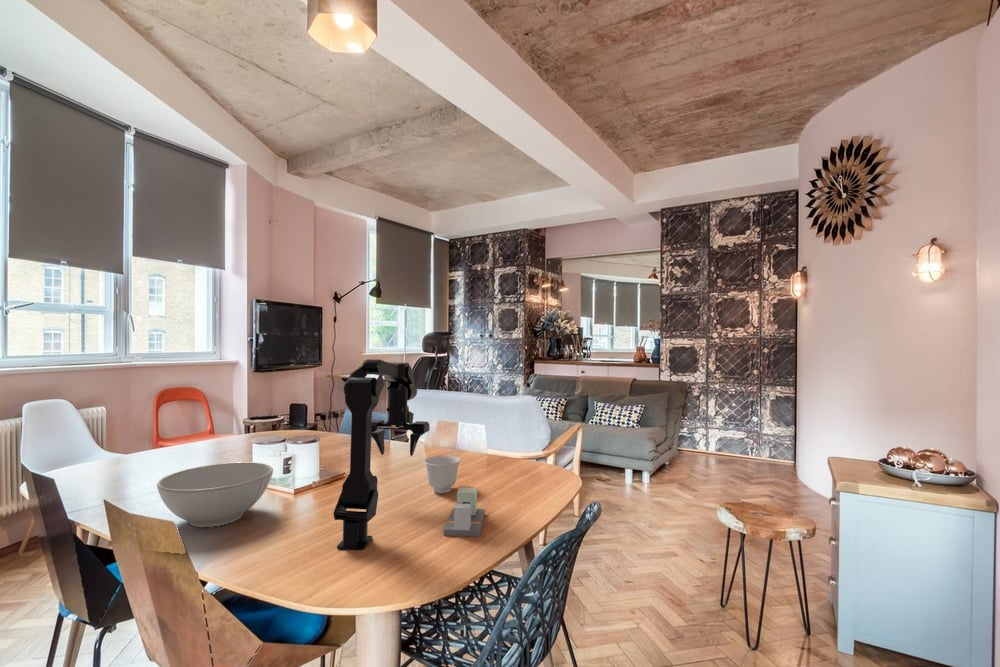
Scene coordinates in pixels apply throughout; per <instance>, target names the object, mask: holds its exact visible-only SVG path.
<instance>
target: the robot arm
mask: <svg viewBox="0 0 1000 667" xmlns="http://www.w3.org/2000/svg"><path fill="white" fill-rule="evenodd" d="M410 365H411V364H410V363H409V362H389V361H384V360H382V359H379V358H378V359H375V358H374V359H373V358H371V359H369V358H368V359H364V361H363V362H362V364H361V365H360V366H359V367H358V368H356V369H355V370H353V371H352V372H351V373H349V376H348V377H347V379H346V381H345V383H344V385H343V393H344V403H345V405H346V406H347V408H348V410H349V412H350V413H351V425H350V427H351V428H350V454H349V455H350V457H349V459H350V462H349V474H348V476H347V477H346V479H345V480H344V482H343V483H342V485H341V486H342V487H341V492H340V495H339V497H338V501H337V502H336V505H335V508H334V510H333V518H334V521H338V520H339V521H342V540H341V541H340V542H339V543H338V544H337V545H336V549H337V550H338V549H341V550H342V549H344V550H364V549H365V548H366V547H367V546H368V544H369V543H370V542H371V541H372V539H373V535H368V533H369V532H368V530H369V529H368V527H369V522H370V520H372V519H373V518H374V517H375V516H376V515H377V507H378V501H379V492H378V477H377V476H376V475H373V473H372V471H371V460H372V459H371V458H372V457H371V456H372V455H371V454H372V438H373V439H374V441H375V444H376V445H377V448H378V450H379V453H380V455H381V456H383V455H385V433H386V430H394V431H395V430H398V431H401V430H402V431H411V433H410V435H409V455H410V456H411V457H413V455H414V452H415V451H416V450H415V449H416V448H417V444H418V442H419V440H420V438H421V436H423V435H425V433H428V432H429V431H430V429H431V428H430V423H429V421H424V420H423V421H419V420H418V421H415V422H414V416H415V415H414V414H415V413H413V412H412V411H411V410H410V409H409V408H410V407H409V405H408V401H411V400H414V398H416V396H417V395H418V388H417V386H416V385H415V383H416V380H415V377H414V372H413V368H412V366H410ZM368 375H375V376H378V377H377V378H376V377H367V376H368ZM385 380H386V381H387V382H388V383H389V384H388V385H387V388H386V390H387V391H388V393H387V394H388V395H387V398H388V399H387V407H386V412H387V421H386V422H385V420H383V419H372V418H373V417H372V415H373V411H374V410H375V408H376V407H377V405H378V404H379V401H380V396H381V393H382V391H383V390H384V387H385ZM347 509H348V510H347ZM350 509H352V510H350ZM358 510H365V511H358Z"/></svg>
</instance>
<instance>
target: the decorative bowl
mask: <svg viewBox="0 0 1000 667" xmlns="http://www.w3.org/2000/svg"><path fill="white" fill-rule="evenodd" d="M273 474H274V468H273V467H272V466H271V465H269V464H267V463H263V462H253V461H234V462H223V463H216V464H215V463H214V464H213V463H212V464H207V465H202V466H195V467H192V468H187V469H183V470H179V471H177V472H173V473H171V474H168V475H166V476H164V477H162V478H160V479H159V480H158V481H157V483H156V488H157V491H158V494H159V496H160V498H161V500H162V502H163V504H164V505H165V506H166V507H167V509H168V510H169V511H170V512H171V513H172V514H174V515H175V516H177V517H178V518H180V519H181V520H184V521H187V522H189V524H191V525H192V526H191V525H190V526H191V527H193V526H196V527H195V528H197V527H210V528H214V527H213V526H217V527H221V526H220V525H222V526H225V525H224V524H226V525H229V524H228V523H230V524H232V523H235V522H237V521H239V520H240V519H241V517H242V516H244V514H245V512H246V511H248V510H250V509H251V508H252V507H254V505H255V504H256V503H257V502H258V501H259V500H260V499H261V497H262V496H263V495H264V493H265V491H266V490H267V488H268V487H269V484H270V482H271V479H272V476H273ZM242 518H243V517H242ZM238 519H239V520H238ZM236 520H237V521H236ZM234 521H235V522H234ZM231 522H232V523H231Z"/></svg>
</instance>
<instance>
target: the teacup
mask: <svg viewBox="0 0 1000 667" xmlns="http://www.w3.org/2000/svg"><path fill="white" fill-rule="evenodd" d="M461 461H462V460H461V458H459V457H457V456H455V455H453V454H449V455H435V456H430V457H427V458H426V459H424V461H423V462H424V464H425V465H426V466H425V467H426V473H427V480H428V484H429V485H430V486H431V487H432V488H433V492H434V493H437V494H446V493H449V492H451V491H452V488H451V487H453V486H454V485H455V484H456V482H457V477H458V470H459V464H460V462H461Z"/></svg>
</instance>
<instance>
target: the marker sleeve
mask: <svg viewBox="0 0 1000 667" xmlns="http://www.w3.org/2000/svg"><path fill="white" fill-rule="evenodd" d="M464 502H470V504H471V515H476V511H477V509H478V488H476V487H475V488H473V487H459V488H458V489H457V492H456V504H464Z"/></svg>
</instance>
